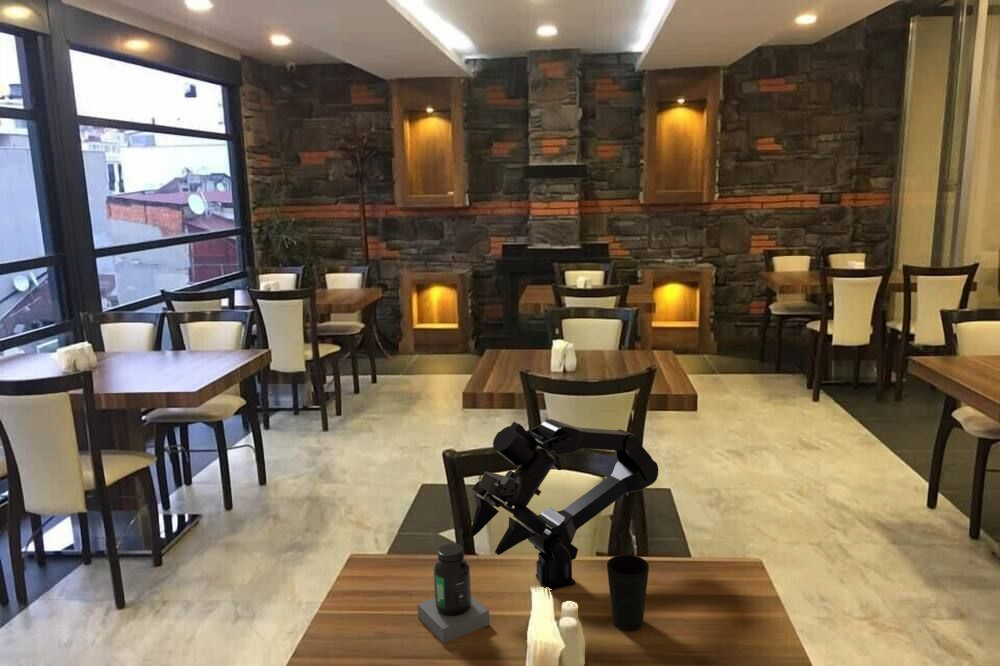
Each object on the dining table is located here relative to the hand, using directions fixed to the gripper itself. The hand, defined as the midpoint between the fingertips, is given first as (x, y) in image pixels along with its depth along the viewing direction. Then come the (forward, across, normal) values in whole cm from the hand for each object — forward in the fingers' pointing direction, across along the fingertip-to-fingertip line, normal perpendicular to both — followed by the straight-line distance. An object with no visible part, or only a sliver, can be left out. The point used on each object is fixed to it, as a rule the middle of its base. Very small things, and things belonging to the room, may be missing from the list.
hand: (483, 544), depth 144 cm
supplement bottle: (+13, 0, +2) cm, 13 cm away
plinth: (+15, 0, +4) cm, 16 cm away
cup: (-3, +20, +23) cm, 31 cm away
